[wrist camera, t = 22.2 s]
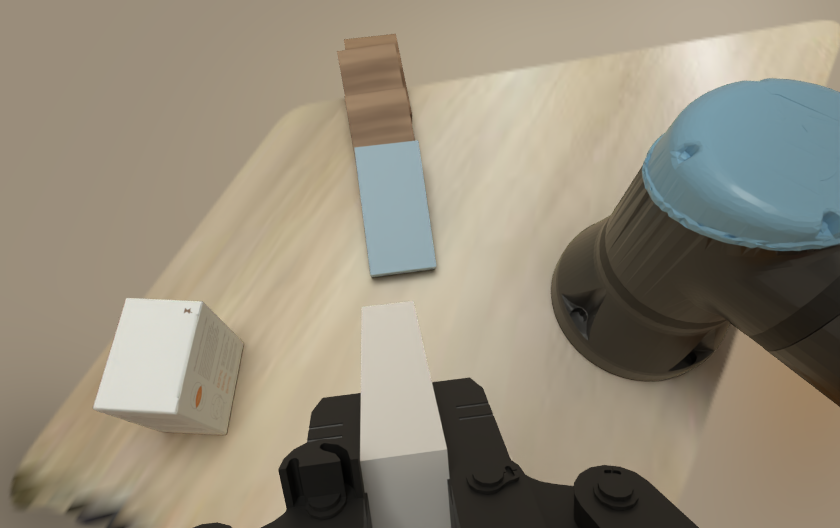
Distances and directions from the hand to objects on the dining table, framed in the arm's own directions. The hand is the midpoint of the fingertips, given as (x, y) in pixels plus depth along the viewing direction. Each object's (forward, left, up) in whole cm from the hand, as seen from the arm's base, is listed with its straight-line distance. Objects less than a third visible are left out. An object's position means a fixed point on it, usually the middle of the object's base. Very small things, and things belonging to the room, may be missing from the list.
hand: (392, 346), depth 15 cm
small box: (+18, +1, -30) cm, 35 cm away
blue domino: (+7, -15, -29) cm, 33 cm away
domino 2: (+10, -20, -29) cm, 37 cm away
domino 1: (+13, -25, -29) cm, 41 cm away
